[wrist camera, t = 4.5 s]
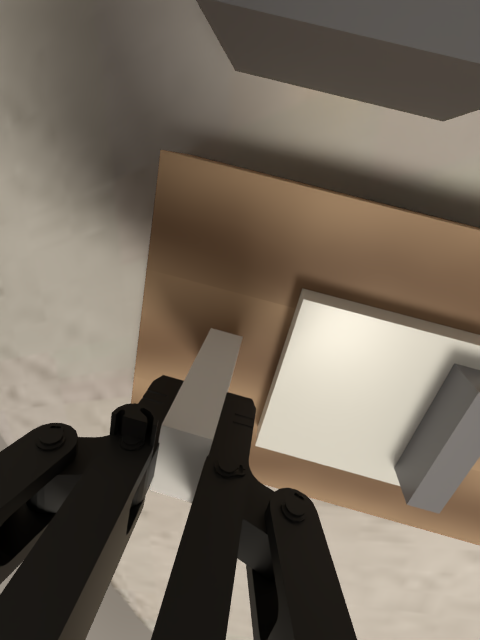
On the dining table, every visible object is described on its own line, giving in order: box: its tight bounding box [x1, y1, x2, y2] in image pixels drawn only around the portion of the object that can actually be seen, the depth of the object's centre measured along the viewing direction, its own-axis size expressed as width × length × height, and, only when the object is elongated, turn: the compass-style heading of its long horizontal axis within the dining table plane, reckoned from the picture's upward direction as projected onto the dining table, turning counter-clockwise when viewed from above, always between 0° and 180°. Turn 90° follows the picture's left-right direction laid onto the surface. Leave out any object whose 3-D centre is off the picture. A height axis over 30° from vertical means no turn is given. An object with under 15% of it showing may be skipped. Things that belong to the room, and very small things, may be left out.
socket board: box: [131, 150, 480, 545], centre depth 18 cm, size 16×22×4 cm
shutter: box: [255, 288, 480, 514], centre depth 15 cm, size 8×8×3 cm
